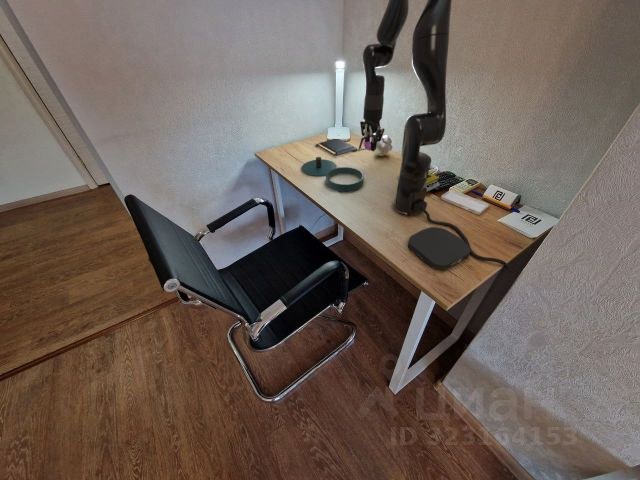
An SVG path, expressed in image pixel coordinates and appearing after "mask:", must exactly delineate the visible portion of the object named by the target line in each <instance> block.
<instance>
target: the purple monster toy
mask: <svg viewBox="0 0 640 480" xmlns="http://www.w3.org/2000/svg"><path fill="white" fill-rule="evenodd" d="M367 138H368V139H370V142H369V141H367V142H365V140H366V139H367ZM374 139H375V136H374ZM371 142H372V139H371V136H367V137H364V136H362V137H361V139H360V142H359V145H358V148H357V151H358V152H361V151H365V150H366V151H371ZM362 146H364V148H363V147H362ZM372 152H373V153H374V151H372Z"/></svg>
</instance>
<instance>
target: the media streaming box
mask: <svg viewBox="0 0 640 480" xmlns="http://www.w3.org/2000/svg"><path fill="white" fill-rule="evenodd" d="M407 247H408V249H409V251H411V252H412V253H413V254H414V255H415V256H417V257H418V258H419V259H420V260H421V261H423V263H425V264H426V265H427V266H428V267H430V268H432V269H435V270H439V271H445V270H447V269H450V268H453V267H454V266H455V265H457V264H459V263H461V262H464V261H465V260H466V259H467V258H468V257H469V254H470V248H471V247H470V248H469V246H468V245H467V244H466V243H465V241H464V240H463V238H461V237H459V236H458V235H456V234H455V233H453V232H451V231H449V230H447V229H446V228H442V227H438V226H431V227H427V228H424V229H422V230H420V231H418V232H416V233H414V234H413V235H411V236H410V237H409V239H408V243H407Z"/></svg>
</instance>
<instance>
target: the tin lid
mask: <svg viewBox="0 0 640 480" xmlns="http://www.w3.org/2000/svg"><path fill="white" fill-rule="evenodd" d="M335 168H338V166H337V164H336V162H334V161H332V160H329V159H323V158H322V157H321V156H316V157H315V159H312V160H309V161H306V162H305V163H303V164H302V165H301V172H302V173H303V174H305V175H307V176H310V177H326V174H327V173H328V172H329V171H330V170H332V169H335Z"/></svg>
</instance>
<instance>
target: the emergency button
mask: <svg viewBox="0 0 640 480" xmlns="http://www.w3.org/2000/svg"><path fill="white" fill-rule="evenodd" d="M438 180H439V176H437V175H435V174H433V173H431V172H429V173H428V177H427V181H426V185H425V188H426V189H427V191H426V193H428V192H431V191H432V190H434V189H435V188H438V187H440V185H441V184H440V182H438ZM435 182H437V183H435ZM432 183H435V184H433V187H431V186H429V187H427V185H429V184H432Z"/></svg>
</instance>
